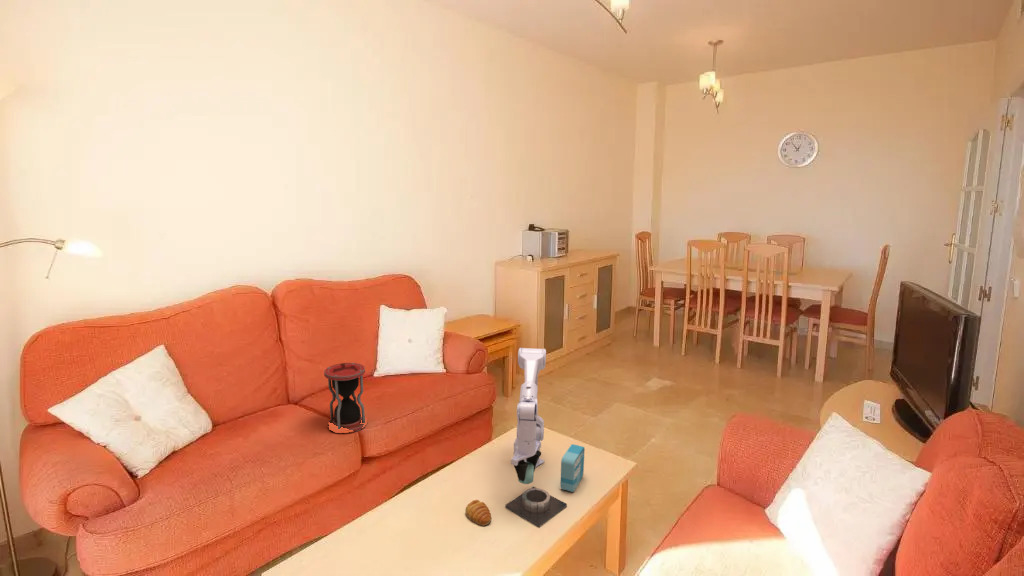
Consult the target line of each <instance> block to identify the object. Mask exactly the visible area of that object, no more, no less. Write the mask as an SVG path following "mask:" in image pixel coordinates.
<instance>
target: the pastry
mask: <svg viewBox="0 0 1024 576" xmlns="http://www.w3.org/2000/svg"><path fill="white" fill-rule="evenodd" d="M465 513H466V516H467V518H468V519H469V520H470V521H472V522H473V523H476V524H477V525H479V526H486V525H489V524H490V523H491V521H492V518H493V517H492V514H491V511H490V509H489V507H488V506H487V505H486V503H485V502H483V501H480V500H478V499H474V500H472V501H469V503H468V504H467V505H466V507H465Z"/></svg>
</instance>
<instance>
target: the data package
mask: <svg viewBox="0 0 1024 576" xmlns="http://www.w3.org/2000/svg"><path fill="white" fill-rule="evenodd" d="M568 447H569V448H568V449H567V450H566V452H564V454H563V456H562V457H561V462H560V483H559V484H560V486H559V487H560V489H561V490H564V491H568V492H571V493H574V492H575V490H576V489H577V487H578V486H579V484H580V483H581V480H582V478H583V476H584V471H585V470H584V469H585V449H586V448H585V446H581V445H578V444H570V446H568Z"/></svg>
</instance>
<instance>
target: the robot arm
mask: <svg viewBox="0 0 1024 576" xmlns="http://www.w3.org/2000/svg"><path fill="white" fill-rule="evenodd" d="M546 360H547V350H546V348H530V347H529V348H528V347H527V348H526V347H519V349H518V351H517V364H518V366H519V368H520V369H522V370H524V382H523V383H522V384H521V385H520V389H519V390H520V392H519V400H518V402H517V406H516V418H517V424H516V438H515V439H514V442H513V455H512V457H511V458H510V464H511V465H512V466H513V467H514V469H515V473H516V476H517V480H518V479H519V480H521V481H524V480H525V475H526V469H527V466H528V464H529V463H527V462H530V463H532V464H533V465H534V472H535V470H536V467H539V466H540V465H542V464H544V462H545V460H544V459H543V458H540V457H541V455H542V451H541V448H542V442H543V440H544V439H545V438H544V436H545V435H544V433H545V425H544V423H545V420H544V418H543V417H541V416H540V415H539V403H538V393H539V392H538V391H539V386H538V385H539V384H538V381H539V373H540V371H541V370H542V371H543V370H545V368H546V363H547V361H546Z"/></svg>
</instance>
